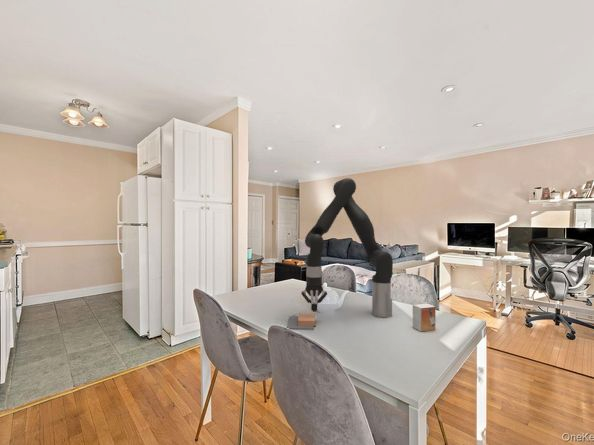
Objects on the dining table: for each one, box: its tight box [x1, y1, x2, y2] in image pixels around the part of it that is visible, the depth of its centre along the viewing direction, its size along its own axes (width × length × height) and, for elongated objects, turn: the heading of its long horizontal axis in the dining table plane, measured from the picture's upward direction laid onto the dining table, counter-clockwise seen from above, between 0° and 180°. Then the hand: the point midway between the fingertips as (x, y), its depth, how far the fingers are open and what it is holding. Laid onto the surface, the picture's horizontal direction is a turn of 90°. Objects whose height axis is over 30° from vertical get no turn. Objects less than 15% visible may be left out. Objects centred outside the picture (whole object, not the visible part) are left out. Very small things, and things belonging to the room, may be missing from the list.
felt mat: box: [286, 315, 315, 330], centre depth 128 cm, size 12×16×1 cm
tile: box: [297, 312, 316, 327], centre depth 128 cm, size 2×10×8 cm
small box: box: [412, 303, 436, 333], centre depth 120 cm, size 8×6×10 cm
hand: (314, 311), depth 128 cm, fingers closed
